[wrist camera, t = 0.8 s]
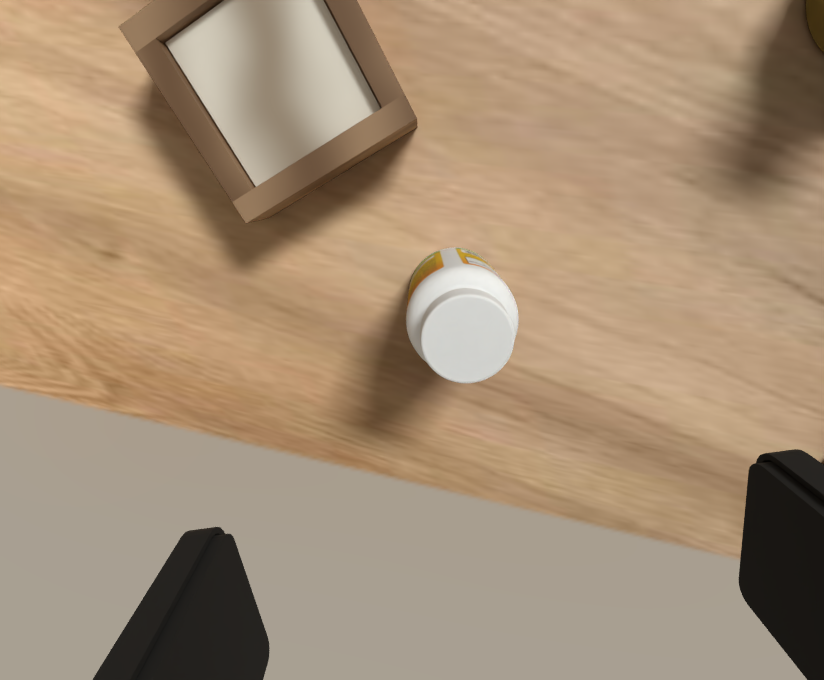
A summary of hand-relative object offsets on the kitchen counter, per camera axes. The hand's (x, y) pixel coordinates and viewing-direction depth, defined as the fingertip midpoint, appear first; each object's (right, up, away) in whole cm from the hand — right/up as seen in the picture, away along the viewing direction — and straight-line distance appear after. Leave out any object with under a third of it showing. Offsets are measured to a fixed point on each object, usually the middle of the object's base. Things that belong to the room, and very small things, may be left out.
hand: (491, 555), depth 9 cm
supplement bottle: (+1, +7, +21) cm, 22 cm away
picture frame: (-8, +18, +17) cm, 26 cm away
